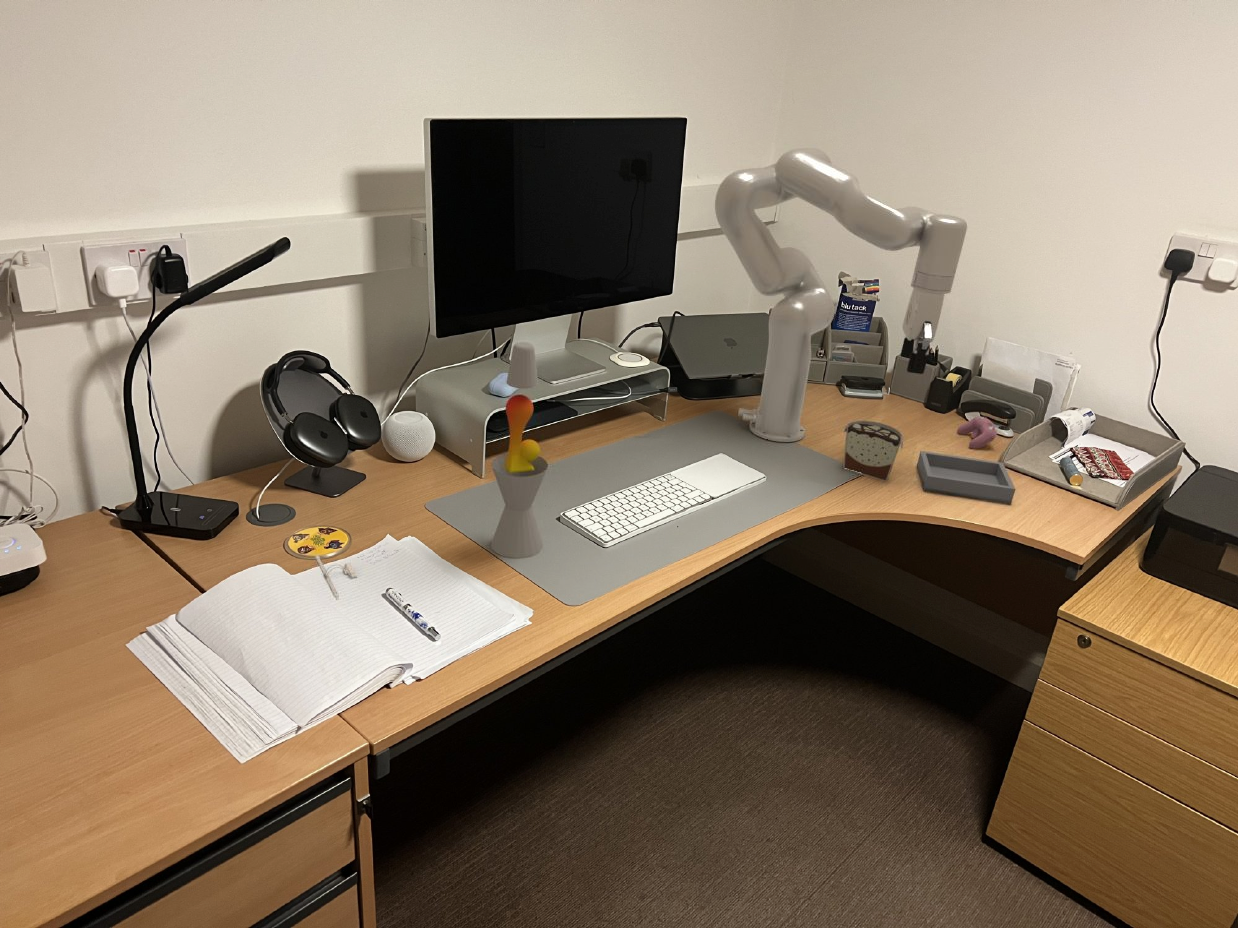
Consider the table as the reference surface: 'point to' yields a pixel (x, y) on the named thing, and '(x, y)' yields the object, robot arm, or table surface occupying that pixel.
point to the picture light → (347, 570)
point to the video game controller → (979, 431)
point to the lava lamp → (519, 465)
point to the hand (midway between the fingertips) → (911, 364)
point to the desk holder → (965, 477)
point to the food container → (871, 448)
